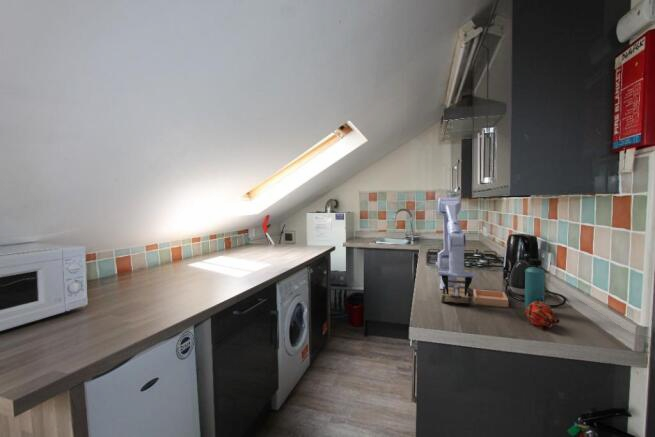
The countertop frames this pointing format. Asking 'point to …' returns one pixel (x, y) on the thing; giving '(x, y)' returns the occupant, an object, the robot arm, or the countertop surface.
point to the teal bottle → (534, 283)
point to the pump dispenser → (518, 277)
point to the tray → (490, 298)
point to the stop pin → (456, 291)
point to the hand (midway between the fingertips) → (456, 294)
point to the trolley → (462, 296)
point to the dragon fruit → (541, 315)
